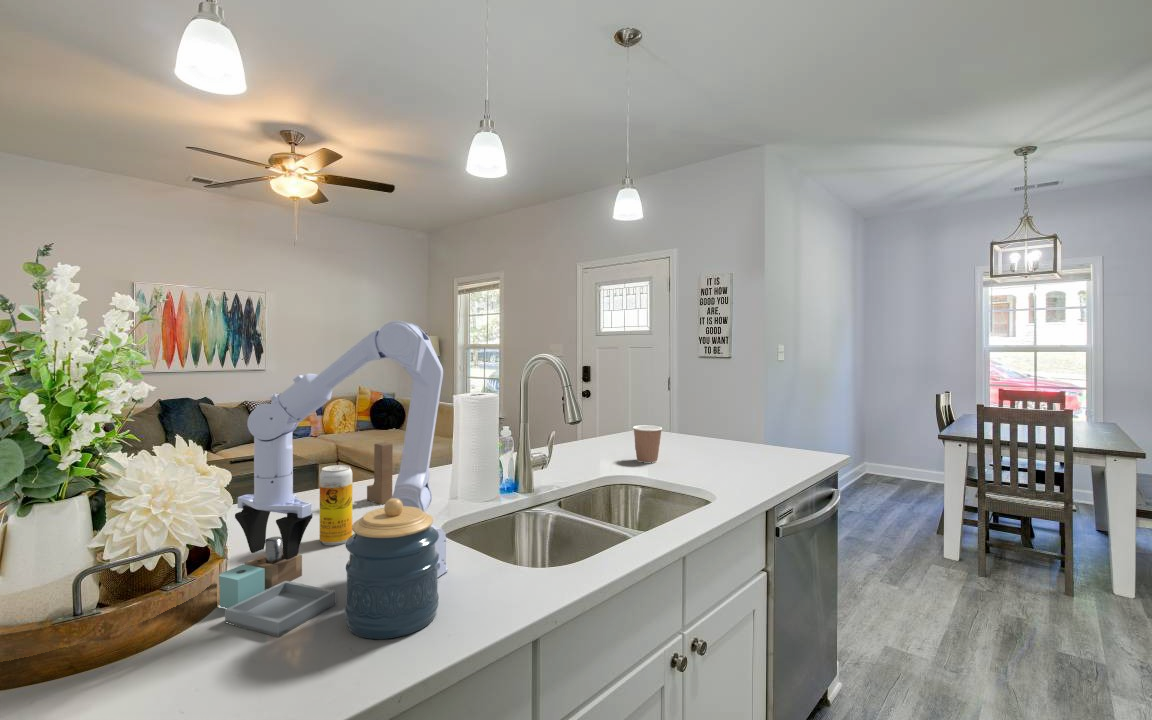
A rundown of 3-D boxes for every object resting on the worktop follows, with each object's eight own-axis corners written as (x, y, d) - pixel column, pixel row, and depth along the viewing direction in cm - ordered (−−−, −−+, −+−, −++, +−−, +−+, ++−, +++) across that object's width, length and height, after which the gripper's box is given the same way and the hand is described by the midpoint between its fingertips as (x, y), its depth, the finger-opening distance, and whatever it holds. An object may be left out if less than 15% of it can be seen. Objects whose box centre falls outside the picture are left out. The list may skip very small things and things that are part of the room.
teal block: (264, 600, 84) (264, 568, 84) (238, 613, 80) (237, 579, 80) (243, 595, 86) (243, 563, 86) (216, 607, 82) (216, 575, 81)
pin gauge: (284, 578, 92) (284, 538, 92) (271, 584, 90) (270, 542, 89) (276, 575, 93) (276, 535, 93) (262, 581, 91) (262, 539, 91)
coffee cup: (646, 457, 197) (646, 424, 197) (667, 461, 189) (668, 427, 189) (626, 460, 191) (626, 426, 190) (647, 465, 183) (648, 430, 183)
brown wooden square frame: (301, 575, 93) (302, 554, 93) (271, 590, 87) (271, 568, 87) (276, 570, 95) (276, 550, 95) (244, 584, 90) (244, 562, 89)
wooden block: (392, 502, 137) (392, 443, 137) (381, 504, 134) (381, 445, 134) (378, 497, 141) (378, 440, 141) (366, 500, 138) (366, 442, 138)
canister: (331, 616, 79) (331, 497, 79) (412, 589, 88) (413, 482, 88) (368, 653, 70) (369, 518, 70) (455, 618, 79) (456, 499, 79)
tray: (335, 603, 83) (335, 591, 83) (278, 637, 73) (278, 622, 73) (285, 592, 87) (285, 580, 87) (225, 623, 77) (225, 609, 77)
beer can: (316, 547, 106) (316, 472, 105) (322, 537, 112) (322, 465, 111) (350, 545, 107) (350, 470, 107) (354, 534, 113) (354, 463, 113)
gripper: (325, 473, 92) (325, 551, 92) (263, 465, 97) (263, 540, 97) (291, 482, 85) (291, 567, 86) (225, 474, 90) (226, 554, 91)
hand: (273, 554), depth 91 cm, fingers open, 7 cm apart
